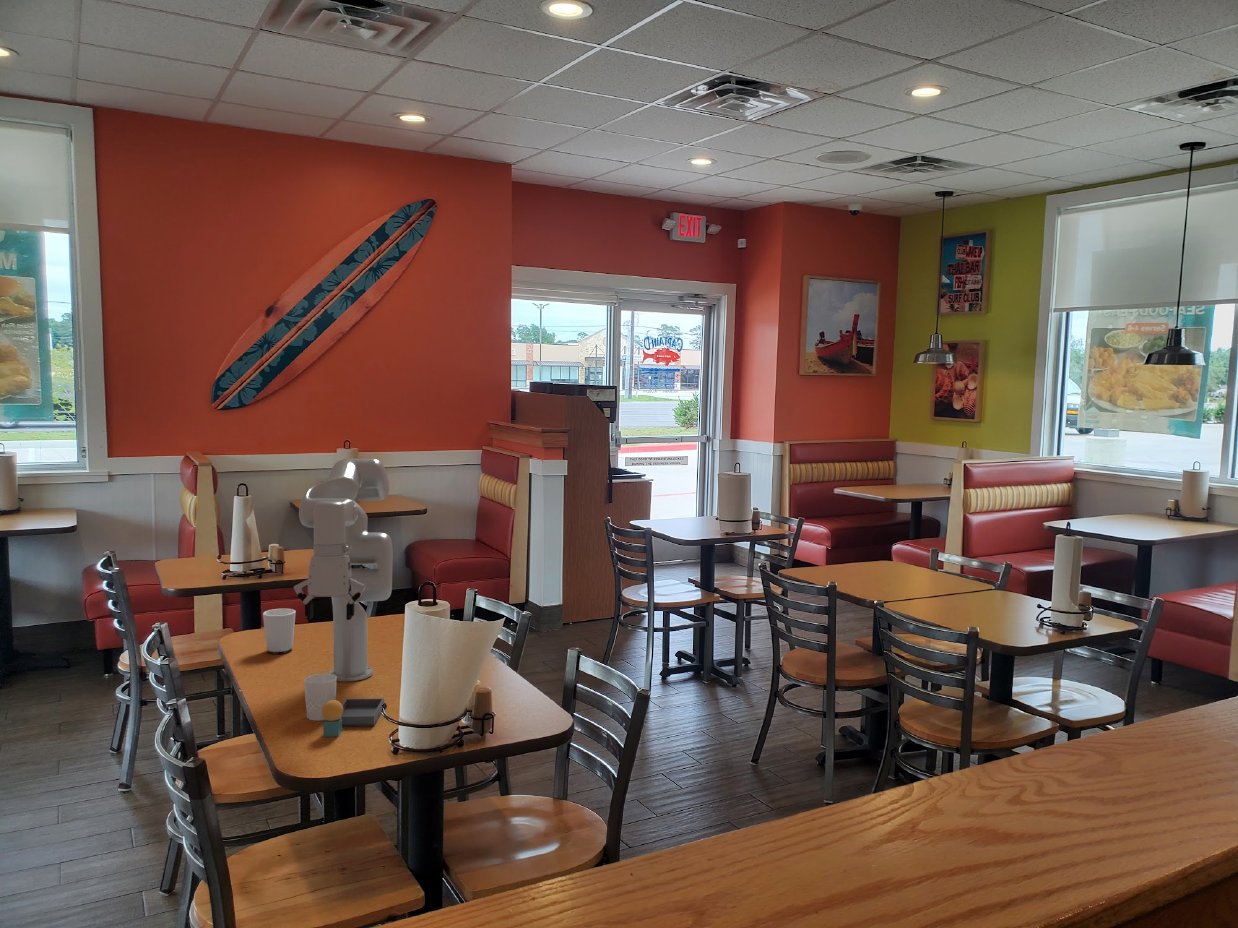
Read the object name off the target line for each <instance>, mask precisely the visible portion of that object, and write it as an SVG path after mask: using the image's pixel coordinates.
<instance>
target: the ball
mask: <svg viewBox="0 0 1238 928" xmlns="http://www.w3.org/2000/svg"><path fill="white" fill-rule="evenodd" d="M342 714H343V706H342V703H341V702H340V701H339V700H330V701H328V702H326V703H325V704H324V706H323V708H322V715H323V717H324V718H325V719H326V720H328V721H336V720H338V719H339V718H340V717H341V716H342Z"/></svg>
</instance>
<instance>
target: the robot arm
mask: <svg viewBox="0 0 1238 928" xmlns="http://www.w3.org/2000/svg"><path fill="white" fill-rule="evenodd" d="M389 492H390V482H389V476H388V474H387V470H386V468H385V466H384V464H383V462H382V461H380V460H378V459H376V458H342V459H340V460H338V461H336V462H335V463H334V464H333V467H332V469H331V471H330V474H329V477H328V479H327V480H324V481H322V482H320V483H317V484H315V485H313V486H311V487H310V488H308V489H307V490H306V491H305V492H304V494H303V496H302V499H301V501H300V504H299V508H298V519H299V522H300V523H301V525H302V526H304V527H306V528H311V529H312V528H313V555H312V556H311V557H310V561H309V566H308V573H307V575H308V576H307V579H305V580H303V581H302V582H300V583H297V584H295V585H294V586H293V590H294V591H295V593H296V595H297V597H298V598H299V599H300V600H301V601H302V603H303V604H304V615H305V617H306V620H307V621H311V620H312V619H313V618H314V602H313V599H314V598H315V597H316V598H317V597H318V598H319V597H320V598H321V597H322V598H323V597H326V598H327V597H328V598H329V597H331V605H332V618H333V619H332V620H333V621H332V622H333V624H332V629H333V630H332V631H333V632H332V633H333V636H332V637H333V638H332V639H333V668H331V669H330V670H329V671H328V673H327V674H333V675H335V676H336V677H337V680H336V682H356V681H360V680H365V679H368V678H370V677H371V676H372V675H373V674H374V669H373V667H371V666H368V614H367V613H366V610H365V609H364V607H363V606H362V605H361V604H360V603H361V602H379V601H380V602H382V601H386V600H387V601H388V599H389V598H390V597H391V595H392V591H393V561H394V558H393V556H394V555H393V554H394V551H393V541H392V538H391V536H390V535H389V534H387V533H385V532H380V531H379V532H378V531H377V532H373V531H371V532H370V531H369V532H368V521H369V520H368V517H369V516H368V515H367V513H366V512H365V510H364V509H363V508H362V507H361V506H360V505H359V504H358V502H364V501H365V502H372V501H373V502H375V501H376V502H378V501H379V502H380V501H384V500H386V499H387V497H388V496H389ZM355 565H359V566H361V565H363V566H365V565H373V566H376V568H352V567H351V566H355ZM306 586H307V593H308V594H306V593H305V592H303V588H304V587H306Z"/></svg>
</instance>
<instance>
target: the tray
mask: <svg viewBox="0 0 1238 928" xmlns="http://www.w3.org/2000/svg"><path fill="white" fill-rule="evenodd" d="M341 704H342V706H343V714H342V716H341V717H342V728H348V727H349V728H351V727H353V728H356V727H357V728H358V727H360V728H361V727H363V728H365V727H370V728H371V727H375V726H376V724H377V722H378V720H379V718H380V717H381V715H382V713H383V711H382V705H383V704H384V705H385V697H384V698H383V697H382V698H373V697H372V698H345V699H344V701H343V702H342V703H341ZM381 712H382V713H381Z"/></svg>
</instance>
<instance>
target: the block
mask: <svg viewBox="0 0 1238 928" xmlns="http://www.w3.org/2000/svg"><path fill="white" fill-rule="evenodd" d="M322 725H323V727H322V729H323V730H322V733H323V737H324V738H325V737H327V738H333V737H334V738H335V737H340V735H341V734H342V732H343V727H342V717H340V718H339V719H338V720H336V721H328V720H323V724H322Z"/></svg>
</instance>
